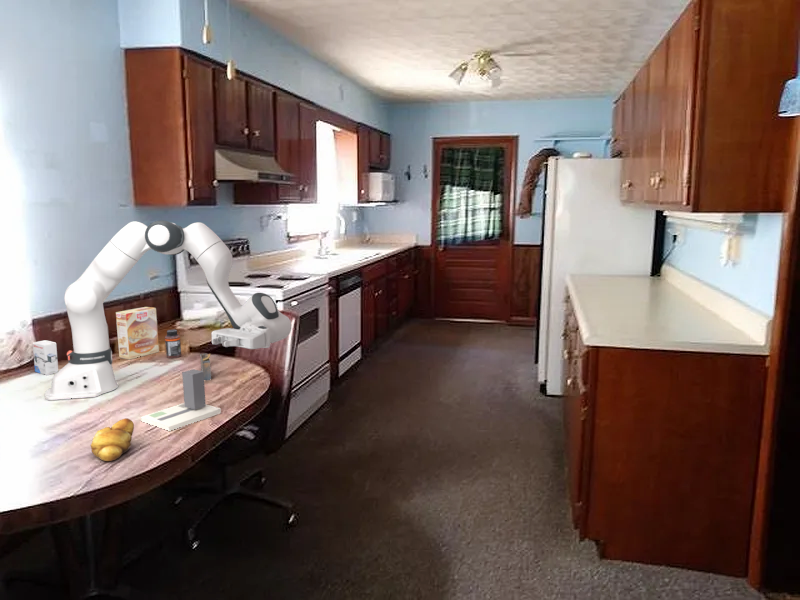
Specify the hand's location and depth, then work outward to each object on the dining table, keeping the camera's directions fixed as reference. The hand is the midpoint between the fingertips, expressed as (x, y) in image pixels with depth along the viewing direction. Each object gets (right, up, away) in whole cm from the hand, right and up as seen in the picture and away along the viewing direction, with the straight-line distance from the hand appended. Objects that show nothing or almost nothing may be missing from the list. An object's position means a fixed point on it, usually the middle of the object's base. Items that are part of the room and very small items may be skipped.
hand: (218, 343), depth 193 cm
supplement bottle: (-37, -10, +62) cm, 73 cm away
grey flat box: (-15, -15, +34) cm, 40 cm away
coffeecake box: (-53, -10, +66) cm, 85 cm away
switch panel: (-8, -22, -9) cm, 25 cm away
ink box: (-78, -14, +41) cm, 89 cm away
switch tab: (-6, -19, -5) cm, 21 cm away
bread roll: (-17, -27, -35) cm, 47 cm away
